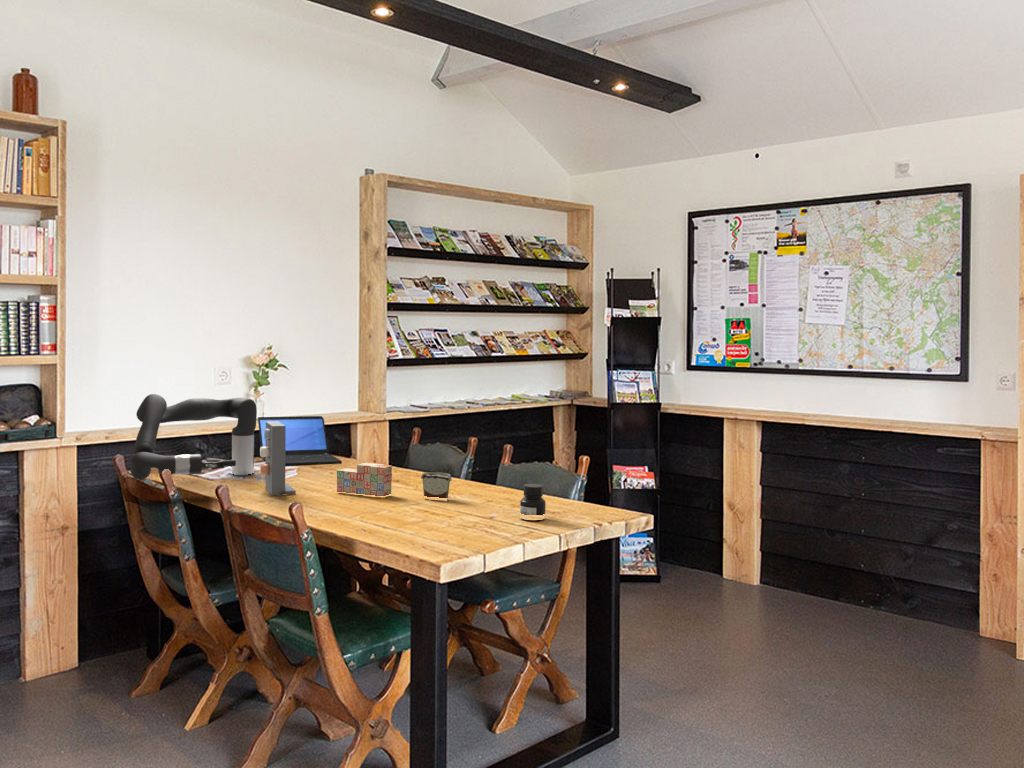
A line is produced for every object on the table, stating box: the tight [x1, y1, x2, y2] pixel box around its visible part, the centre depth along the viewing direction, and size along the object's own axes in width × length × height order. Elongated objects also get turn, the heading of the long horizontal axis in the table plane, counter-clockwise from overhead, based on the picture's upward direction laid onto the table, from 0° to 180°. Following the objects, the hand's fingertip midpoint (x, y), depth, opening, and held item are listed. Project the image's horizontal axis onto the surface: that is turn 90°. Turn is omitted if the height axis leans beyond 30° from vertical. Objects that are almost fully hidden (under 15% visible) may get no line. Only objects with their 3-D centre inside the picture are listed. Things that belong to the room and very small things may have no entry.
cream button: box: [259, 446, 270, 458], centre depth 347 cm, size 4×4×4 cm
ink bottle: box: [519, 483, 547, 515], centre depth 311 cm, size 10×9×12 cm
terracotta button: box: [259, 463, 270, 476], centre depth 347 cm, size 4×4×4 cm
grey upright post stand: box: [264, 421, 297, 496], centre depth 349 cm, size 16×9×27 cm, turn 24°
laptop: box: [257, 415, 342, 466], centre depth 430 cm, size 33×38×19 cm
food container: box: [420, 471, 453, 499], centre depth 342 cm, size 12×6×10 cm, turn 71°
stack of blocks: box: [336, 462, 393, 496], centre depth 347 cm, size 21×6×12 cm, turn 68°
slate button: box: [264, 429, 270, 439], centre depth 347 cm, size 4×4×4 cm
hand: (235, 462), depth 342 cm, fingers closed
